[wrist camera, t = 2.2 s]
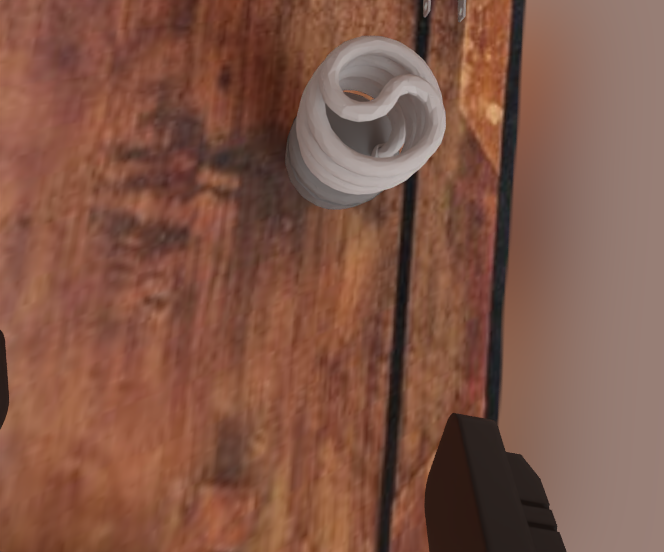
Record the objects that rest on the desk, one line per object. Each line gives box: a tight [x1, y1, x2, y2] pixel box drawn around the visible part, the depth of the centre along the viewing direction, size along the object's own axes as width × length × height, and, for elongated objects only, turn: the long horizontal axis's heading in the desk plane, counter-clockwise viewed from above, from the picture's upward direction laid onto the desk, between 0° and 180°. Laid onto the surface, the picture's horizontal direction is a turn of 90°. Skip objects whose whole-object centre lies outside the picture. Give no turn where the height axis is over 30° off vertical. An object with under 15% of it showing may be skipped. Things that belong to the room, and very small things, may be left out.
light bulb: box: [285, 36, 446, 209], centre depth 27 cm, size 6×6×12 cm
